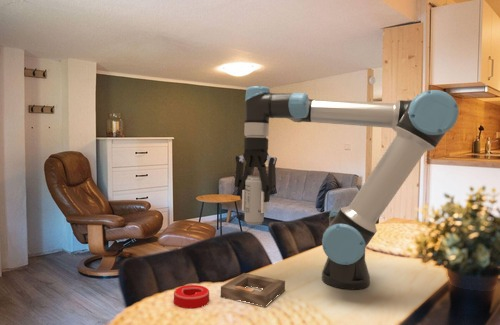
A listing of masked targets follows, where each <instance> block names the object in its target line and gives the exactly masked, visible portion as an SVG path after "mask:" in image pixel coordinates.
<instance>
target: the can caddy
mask: <svg viewBox="0 0 500 325" xmlns="http://www.w3.org/2000/svg"><path fill="white" fill-rule="evenodd" d="M246 286H252V287H258V288H263V290H261V289H260V290H259V289H255V288H252V287H246ZM245 287H246V288H245ZM285 291H286V280H283V279H277V278H273V277H266V276H262V275H256V274H252V273H247V272H243V273H241V274H240V275H238V276H236V277H235V278H233V279H231V280H229V281H228V282H226V283H224V284H223V285H221V286H220V298H223V297H225V298H224V299H227V298H230V299H229V300H231V299H235V300H241V301H246V302H250V303H254V304H258V305H262V306H266V305H267V304H268V303H269V302H270V301H271V300H273V299H274V298H275V297H276V296H277V295H279V294H280V295H281V294H283V293H284V292H285ZM280 295H279V296H280ZM235 300H234V301H235ZM273 301H274V300H273ZM266 307H267V306H266Z"/></svg>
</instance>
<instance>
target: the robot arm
mask: <svg viewBox="0 0 500 325" xmlns="http://www.w3.org/2000/svg"><path fill="white" fill-rule="evenodd" d="M459 113H460V112H459V106H458V103H457V101H456V99H455V98H454V97H453V96H452V95H450V94H449V93H448V92H445V91H443V90H439V89H430V90H426V91H423V92H420V93H419V94H417V95H416V96H415V97H413V99H410V100H397V101H396V102H394V103H390V102H371V101H370V102H369V101H351V100H331V99H330V100H329V99H315V98H314V99H310V98H309V95H308V94H307V93H306V92H284V93H282V92H281V93H279V92H278V93H277V92H276V93H274V92H273V93H272V92H271V90H270V88H269V87H268V86H262V85H253V86H249V87H247V88H246V90H245V98H244V134H243V135H244V136H245V137H244V138H243V149H244V152H243V153H242V155H236V156H235V163H236V165H235V166H236V167H235V179H234V186H235V188H238V189H239V192H240V193H239V198H240V200H241V211H242V212H245V181H246V179H247V177H248V175H252V172H253V170H254V168H257V171H258V173H259V175H260V178H261V182H262V186H263V190H262V191H263V192H261V213H264V214H265V213H267V212H268V203H269V202H270V198H271V197H270V195H271V191H274V190H277V181H276V180H277V179H276V178H277V176H276V165H277V164H276V163H277V160H278V158H277V157H272V156H270V154H269V152H268V151H269V139H268V137H269V130H270V129H269V127H270V126H269V125H270V119H287V120H290V121H292V122H294V123H302V122H303V123H317V124H332V125H346V126H360V127H375V128H387V129H388V128H389V129H392V130H393V131H394V132H396V135H395V137H394V138H393V140H392V142H391V143H390V144H389V146H388V147H387V149H386V150H385V152H384V153H383V155H382V157H381V158H380V159H379V161H378V162H377V163H376V165H375V167H374V168H373V170H372V171H371V173H370V174H369V176H368V177H367V179H366V180H365V181H364V183H363V185H362V186H361V187H360V189H359V190H358V192H357V193H356V195H355V196H354V198H353V199H352V201H351V203H350V204H349V205H348V206H343V207H341V208H340V209H339V210H335V209H333V210H331V211H330V212H329V216H328V220H329V221H328V222H329V223H328V227H327V228H326V229H325V230H324V232H323V234H322V237H321V238H322V239H321V245H322V250H323V252H324V254H325V255H326V257H327V259H326V260H325V263H324V266H323V269H322V271H321V272H322V273H321V280H322V282H323V283H324V284H327V285H328V286H331V287H334V288H338V289H344V290H362V289H365V288H368V287H369V286H370V284H371V276H370V273H369V269H368V265H367V263H366V247H367V246H368V245H369V243H370V242H371V240H372V239H373V238H374V236H375V235H376V233H377V226H376V225H377V224H376V223H377V222H378V220H379V219H380V217H381V216H382V214H383V213H384V212H385V210H386V209H387V207H388V206H389V204H390V203H391V201H392V200H393V199H394V197H395V196H396V194H397V193H398V192H399V190H400V189H401V187H402V186H403V184H404V182H406V180H407V179H408V177H409V176H410V174H411V173H412V171H413V170H414V168H415V167H416V165H417V164H418V163H419V161H420V160H421V159H422V158H423V156H424V155H425V153H426V152H428V151H432V150H435V149H436V148H437V146H438V145H439V143H440V142H441V140H442V139H443V138H444V136H445V135H446V133H447V132H449V131H450V130H451V129H453V127H454V126H455V124H456V123H457V121H458V118H459ZM244 162H245V164H244ZM266 162H267V164H268V165H267V166H266ZM244 165H245V166H244ZM267 167H268V168H267ZM267 169H268V174H267Z"/></svg>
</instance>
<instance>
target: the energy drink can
mask: <svg viewBox="0 0 500 325" xmlns="http://www.w3.org/2000/svg"><path fill="white" fill-rule="evenodd" d="M262 190H263V186H262V182H261V178H260V174H259V175H257V174H256V175H255V174H253V175H252V174H251V175H248V177H247V179H246V181H245V211H244V222H245V224H246V225H249V226H261V225H262V224H263V222H264V221H265V218H264V217H265V213H261V192H263V191H262Z"/></svg>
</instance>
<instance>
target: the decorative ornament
mask: <svg viewBox="0 0 500 325" xmlns="http://www.w3.org/2000/svg"><path fill="white" fill-rule="evenodd" d="M208 302H209V303H210V290H209V288H207V287H205V286H203V285H198V284H189V285H182V286H179V287H177V288H176V289H175V290H174V291H173V304H174V305H175V307H179V308H181V309H187V310H188V309H199V308H202V306H203V307H205V306H207V305H208V304H209V303H208ZM207 303H208V304H207ZM206 304H207V305H206ZM204 305H205V306H204Z"/></svg>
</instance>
